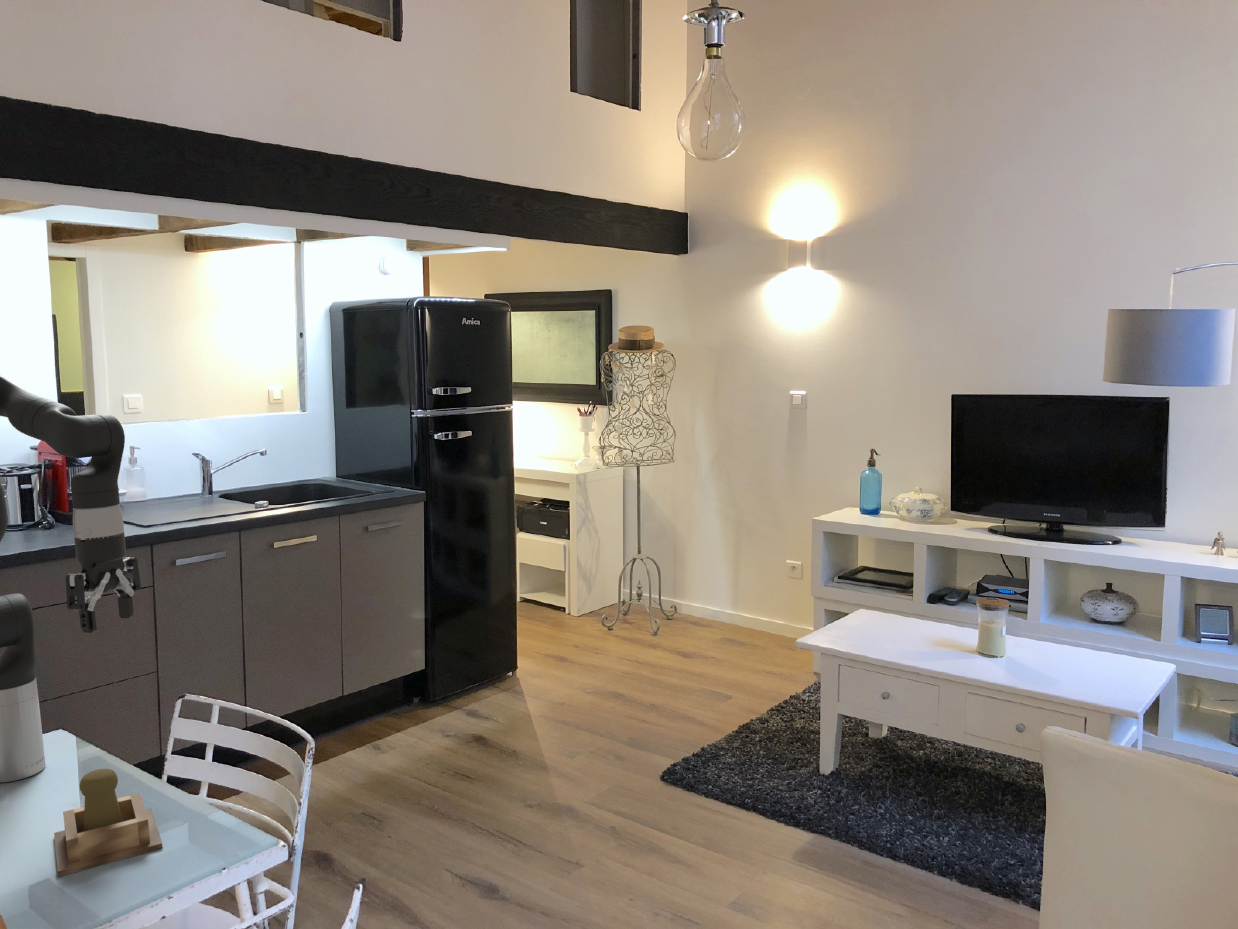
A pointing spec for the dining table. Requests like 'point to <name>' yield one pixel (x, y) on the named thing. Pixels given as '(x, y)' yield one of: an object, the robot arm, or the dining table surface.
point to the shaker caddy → (106, 837)
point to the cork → (100, 799)
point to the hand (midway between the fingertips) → (108, 624)
